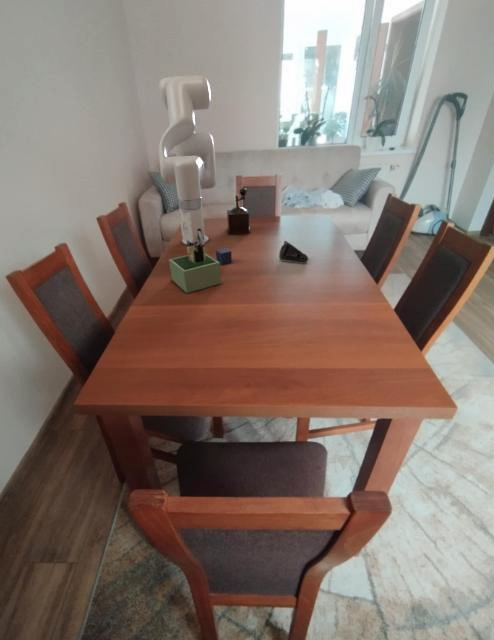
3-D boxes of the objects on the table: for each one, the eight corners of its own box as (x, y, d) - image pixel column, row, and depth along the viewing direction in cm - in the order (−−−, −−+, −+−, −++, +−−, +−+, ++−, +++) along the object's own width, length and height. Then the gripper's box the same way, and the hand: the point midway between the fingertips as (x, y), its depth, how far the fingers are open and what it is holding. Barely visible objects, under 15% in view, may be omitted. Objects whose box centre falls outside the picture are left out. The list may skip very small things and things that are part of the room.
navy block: (216, 261, 136) (215, 250, 133) (226, 259, 137) (225, 248, 134) (221, 264, 132) (221, 253, 130) (231, 262, 134) (231, 251, 131)
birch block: (188, 259, 119) (186, 246, 116) (199, 256, 121) (198, 244, 118) (193, 263, 116) (192, 250, 113) (205, 260, 118) (204, 247, 115)
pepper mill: (251, 233, 163) (250, 193, 152) (228, 235, 163) (227, 194, 152) (247, 225, 175) (246, 187, 164) (226, 226, 175) (224, 188, 164)
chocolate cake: (313, 259, 134) (297, 234, 133) (310, 260, 128) (292, 234, 127) (294, 273, 139) (278, 250, 138) (290, 275, 133) (273, 250, 132)
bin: (172, 280, 123) (168, 259, 118) (204, 271, 128) (202, 251, 123) (186, 293, 114) (183, 271, 109) (221, 283, 118) (219, 262, 114)
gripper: (170, 201, 111) (177, 255, 123) (190, 210, 100) (197, 269, 111) (190, 198, 114) (195, 251, 125) (212, 206, 102) (216, 264, 114)
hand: (196, 258), depth 118 cm, fingers closed on birch block, 4 cm apart
